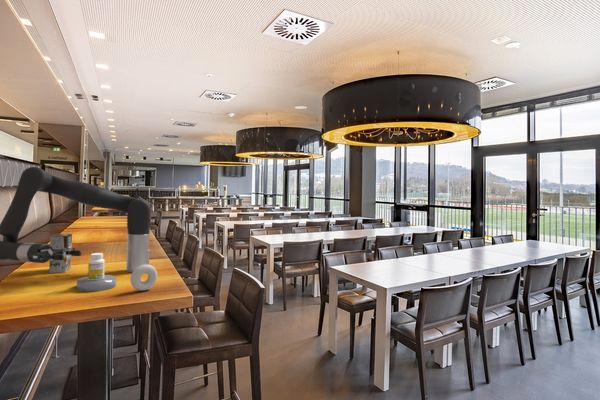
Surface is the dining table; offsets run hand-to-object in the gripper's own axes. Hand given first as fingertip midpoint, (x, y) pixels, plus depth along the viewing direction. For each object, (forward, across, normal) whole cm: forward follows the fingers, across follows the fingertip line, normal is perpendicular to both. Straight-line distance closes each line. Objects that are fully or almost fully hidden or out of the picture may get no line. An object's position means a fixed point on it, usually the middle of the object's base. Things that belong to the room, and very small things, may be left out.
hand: (71, 255), depth 133 cm
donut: (+30, 0, +12) cm, 32 cm away
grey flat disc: (+11, 0, +12) cm, 16 cm away
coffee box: (-21, +18, +12) cm, 30 cm away
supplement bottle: (+11, 0, +9) cm, 14 cm away
